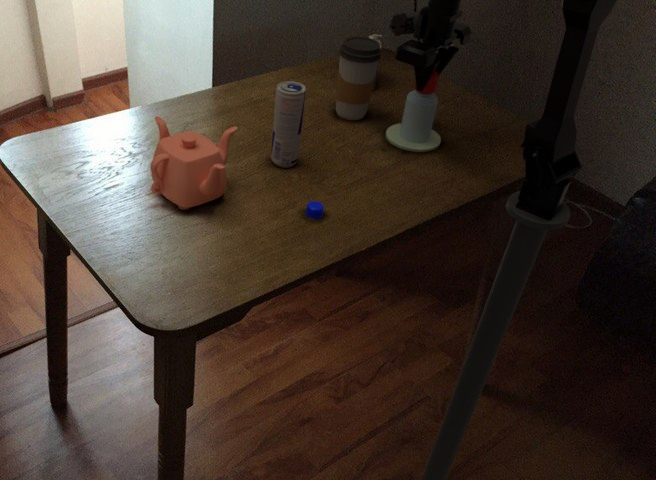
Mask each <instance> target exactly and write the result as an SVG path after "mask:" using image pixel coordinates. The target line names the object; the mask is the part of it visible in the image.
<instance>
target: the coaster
mask: <svg viewBox="0 0 656 480" xmlns="http://www.w3.org/2000/svg"><path fill="white" fill-rule="evenodd" d="M401 123H402V122H401ZM401 123H395V124H392V125H390V126H388V128H387V129H386V130H385V138H386V140H387V142H388V143H389V144H391V145H392V146H394V147H396V148H397V149H401V150H403V151H408V152H413V153H426V152H427V153H428V152H431V151H435V150H436V149H438V148H439V147H440V146H441V142H442V137H441V136H440V134H439V133H438V132H437V131H435V130H434V129H433V128H432V129H431V133H430V137H429V140H428V141H426V142H423V143H413V142H409V141H406V140H404V139H403V138H401V137H400V135H399V132H400V127H401Z"/></svg>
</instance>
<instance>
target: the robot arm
mask: <svg viewBox="0 0 656 480" xmlns="http://www.w3.org/2000/svg"><path fill="white" fill-rule="evenodd" d="M461 3H462V0H427V2H426V6H424V7H422V8H421V9H420V10H419V11H409V12H402V13H398V12H397V13H395V14H393V16H392V17H391V19H390V24H389V26H388V27H389V30H391V32H392V33H393V35H394V37H400V36H403V35H412V38H414V39H412V38H411V39H410V40H407V41H406V42H404V43H402V44H400V45H399V46H397V47H396V49H395V56H394V59H395V60H396V61H399V62H401V63H405V64H408V65H410V66H413V69H414V77H415V78H414V79H415V81H416V88H417V90H418V91H423V89H424V88H425V86H426V85H427V83H428V81H429V80H430V78H431V76H432V75H433V73H434V71H436V72H438V73H439V76H441V74H442V73H443V71H445V69H446V67H447V66H448V65H449V64H450V62H451V61H452V59H453V58H454V57H455V56H456V54H457V53H459V51H460V48H459V47H458V46H454V42H453V41H456V40H459V44H460V46H466V45H467V44H469V43H470V41H471V37H472V33H473V31H472V29H471V28H470V26H469V25H466V24H463V23H460V22H458V19H460V18H462V16H463V13H464V10H463V9H460V8H461ZM616 3H617V0H562V3H561V10H562V11H561V12H562V14H563V19H564V24H565V25H564V26H565V27H564V33H563V36H562V40H561V43H560V46H559V51H558V54H557V59H556V62H555V66H554V71H553V75H552V78H551V82H550V86H549V90H548V94H547V97H546V101H545V106H544V109H543V112H542V115H541V116H540V118H538V119H536V120H534V121H532V122H530V123H527V124H526V127H525V130H524V139H523V141H522V143H521V144H520V148H523V149H522V158H523V160H524V161H525V178H524V180H523V183H522V185H521V188H520V190H519V191H520V194H519V196H518V200H520V201H519V202H518V203H517V204H516V207H517V208H519V209H521V210H524V211H526V212H528V213H531V214H533V215H536V216H538V217H540V218H543V219H545V220H548V221H551V220H552V219H553V217H554V216H555V215H556V214H557V213H558V212H559V211H560V210H561V208H562V207H563V204H562V202H564V199H565V196H566V194H567V191H568V189H569V187H570V185H571V182H572V180H571V179H572V177H575V176H577V175H578V174H579V173H580V172H581V170H582V169H583V166H582V164H581V161H580V158H579V156H578V153H577V151H576V142H577V134H578V131H577V126H576V122H575V112H576V109H577V106H578V102H579V99H580V95H581V92H582V88H583V85H584V81H585V78H586V74H587V71H588V69H589V64H590V61H591V58H592V54H593V50H594V47H595V44H596V40H597V36H598V33H599V30H600V27H601V26H602V25H603V23H604V21H605V20H606V19H607V17H608V15H609V14H610V13H611V11H612V10H613V9H614V7H615V5H616ZM415 39H417V40H415ZM418 40H421V41H418Z"/></svg>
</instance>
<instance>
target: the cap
mask: <svg viewBox="0 0 656 480" xmlns="http://www.w3.org/2000/svg"><path fill="white" fill-rule="evenodd" d="M439 77H440V75H439V73H438V72H436V71H434V73H433V75H432V76H431V78H430V80H429V81H428V83H427V85H426V86H425V88H424V89H423V91H418V90H417V88H416V80H415V82H414V89H413V90H416V91H417V92H419V93H423V94H432V93H434V94H435V92H436V90H437V85H438V82H439Z"/></svg>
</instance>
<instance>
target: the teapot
mask: <svg viewBox="0 0 656 480" xmlns="http://www.w3.org/2000/svg"><path fill="white" fill-rule="evenodd" d="M154 120H155V122H156V124H157V127H158V131H159V137H158V139H159V140H158V142H157V144H156V147H155V149H154V153H153V157H152V160H151V162H150V172H151V173H150V174H151V179H152V182H153V183H151V187H150V189H151V191H152V193H153V194H156V195H161V194H162V196H164V198H166V199H167V200H169V201H170V202H172V203H174V204H175V205H177V207H178V209H180V210H182V211H183V210H184V211H185V210H190V209H191V208H193V207H196V206H200V205H203V204H205V203H208V202H212V201H214V200H217V199H218V198H220V197H222V196H223V195H224V193H225V191H226V189H227V186H228V178H227V177H228V176H227V171H226V163H227V160H228V157H229V149H230V141H231V138H232V136H233V134H234V133H235V132H236V131H237V130H238V126H231V127H229V128H227V129H226V130H225V131H224V132H223V134H222V135H221V137H220V140H219V142H218V145H216V144H215V143H214V142H212V141H211V140H210V139H209V138H207V137H206V136H204V135H203V134H201V133H199V132H196V131H193V130H188V131H184V132H180V133H176V134H173V135H171V133H170V131H169V128H168V126H167V124H166V122H165V120H164V119H163V118H162V117H160V116H157V115H155V116H154Z"/></svg>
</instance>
